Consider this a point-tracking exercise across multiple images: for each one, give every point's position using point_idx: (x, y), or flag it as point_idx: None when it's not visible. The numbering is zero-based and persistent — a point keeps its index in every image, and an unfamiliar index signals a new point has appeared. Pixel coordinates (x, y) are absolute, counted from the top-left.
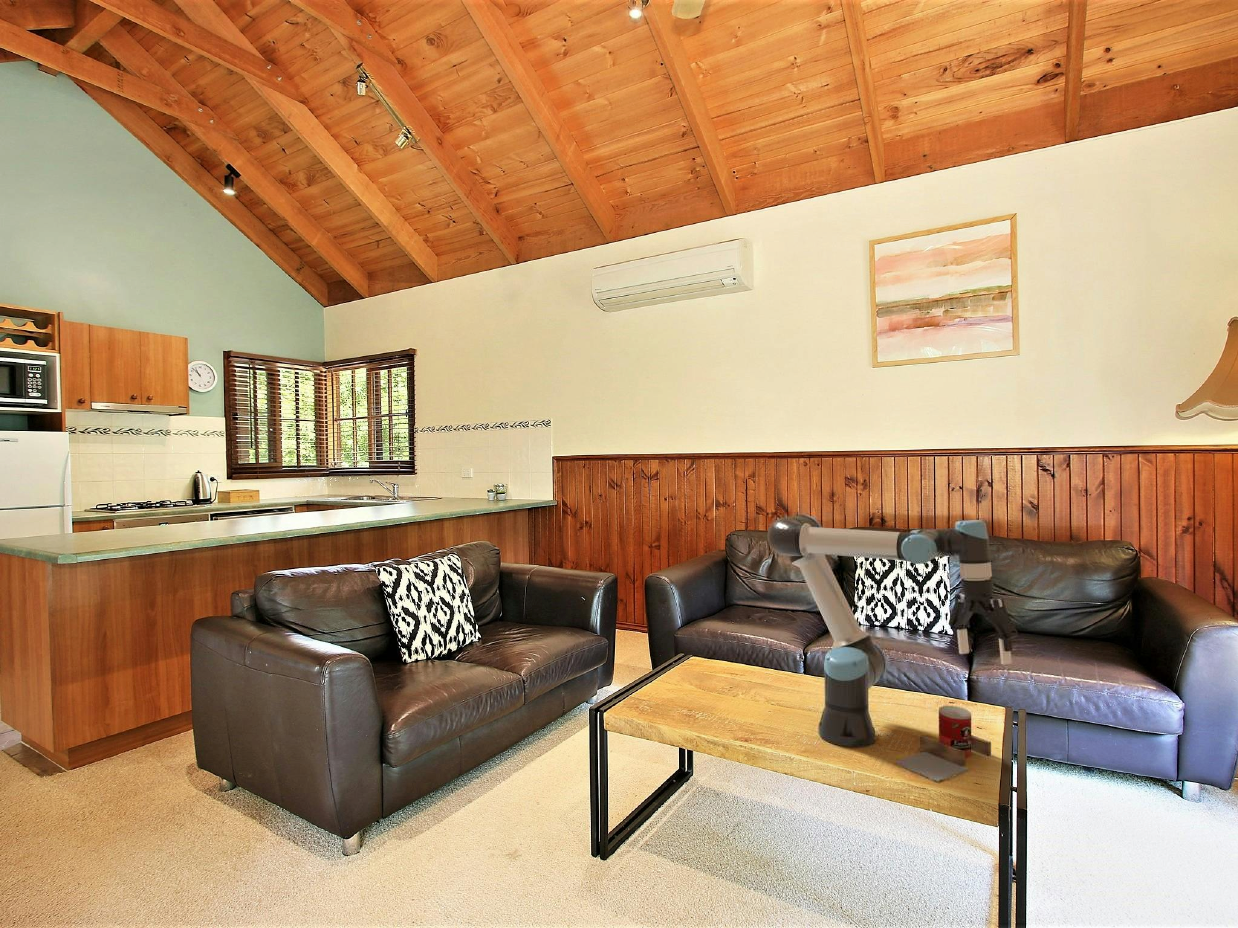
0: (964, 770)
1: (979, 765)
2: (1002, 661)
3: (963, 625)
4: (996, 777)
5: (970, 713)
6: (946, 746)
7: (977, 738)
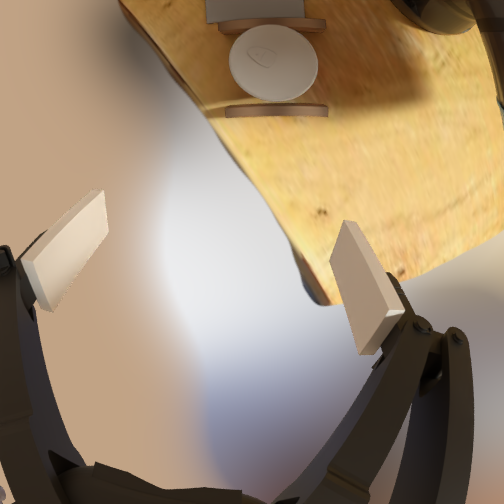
0: (206, 14)
1: (211, 58)
2: (91, 194)
3: (379, 365)
4: (166, 48)
5: (238, 82)
6: (256, 19)
7: (252, 110)
